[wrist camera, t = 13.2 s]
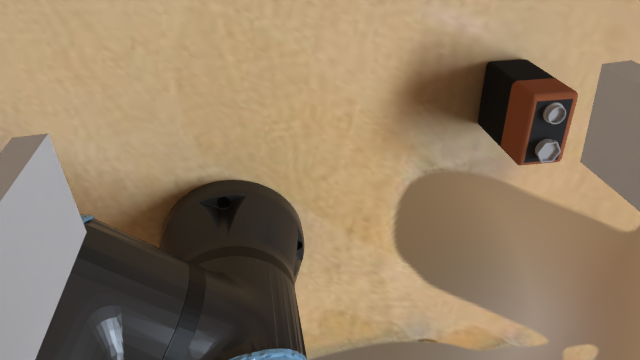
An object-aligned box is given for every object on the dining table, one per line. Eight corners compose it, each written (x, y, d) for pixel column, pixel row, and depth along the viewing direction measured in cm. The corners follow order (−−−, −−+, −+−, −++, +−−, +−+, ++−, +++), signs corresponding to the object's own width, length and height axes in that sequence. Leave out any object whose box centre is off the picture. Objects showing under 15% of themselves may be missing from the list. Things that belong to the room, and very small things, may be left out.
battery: (475, 124, 53) (521, 172, 45) (485, 60, 50) (537, 99, 41) (515, 121, 54) (568, 168, 45) (527, 57, 50) (588, 95, 42)
